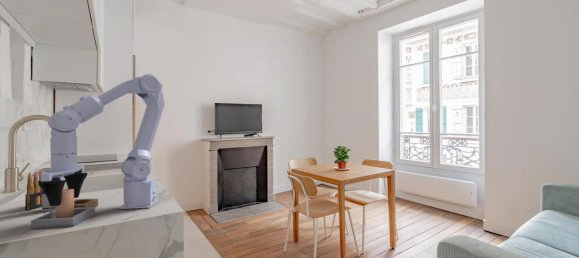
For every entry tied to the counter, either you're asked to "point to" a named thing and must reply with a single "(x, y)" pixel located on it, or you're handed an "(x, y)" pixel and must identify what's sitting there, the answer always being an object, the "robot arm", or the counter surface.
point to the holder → (85, 203)
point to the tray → (52, 221)
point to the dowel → (66, 204)
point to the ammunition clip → (33, 192)
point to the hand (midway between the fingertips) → (65, 201)
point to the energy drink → (45, 202)
